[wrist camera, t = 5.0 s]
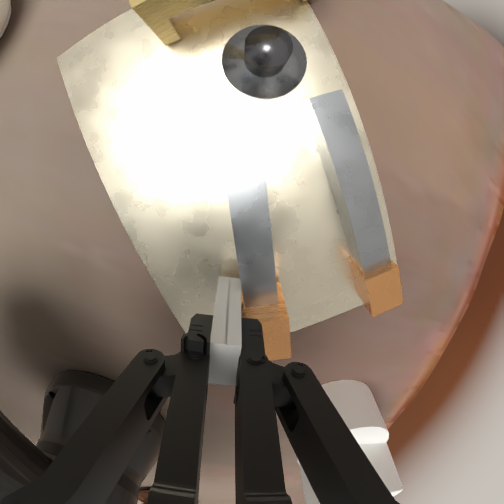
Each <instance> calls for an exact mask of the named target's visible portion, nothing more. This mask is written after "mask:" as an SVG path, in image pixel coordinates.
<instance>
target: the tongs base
mask: <svg viewBox="0 0 504 504" xmlns="http://www.w3.org/2000/svg"><path fill="white" fill-rule="evenodd" d="M171 19H172V21H173V23H174V25H175V27H176V30H177V32H178V34H179V36H180V38H181V39H179V40H177V41H175V42H173V43H171V44H169V45H166V46H165V44H164V43H163V42H162V41H161V40H160V39H159V38H158V36H157V35H156V34H155V33H154V32H153V31H152V30H151V29H150V27H149V26H148V25H147V24H146V23H145V22H144V21H143V20H142V19H141V18H140V16H139V15H138V14H137V13H136V12H135V11H134V10H133V9H130V10H129V11H127V12H125V13H123V14H121V15H120V16H118V17H116V18H114V19H113V20H111V21H109V22H108V23H106V24H104V25H103V26H101V27H100V28H98V29H97V30H95V31H93V32H92V33H90V34H89V35H87V36H86V37H85V38H83V39H82V40H80V41H79V42H77V43H76V44H75V45H73V46H72V47H71V48H69V49H68V50H67V51H65V52H64V53H63V54H61V55H60V56H59V57H57V60H58V64H59V67H60V71H61V74H62V77H63V81H64V84H65V87H66V90H67V93H68V96H69V99H70V102H71V105H72V108H73V110H74V113H75V116H76V119H77V121H78V124H79V127H80V129H81V132H82V134H83V137H84V140H85V142H86V145H87V147H88V149H89V152H90V154H91V157H92V159H93V161H94V164H95V166H96V168H97V171H98V173H99V175H100V177H101V180H102V182H103V184H104V186H105V189H106V191H107V193H108V195H109V197H110V199H111V201H112V203H113V205H114V208H115V210H116V212H117V214H118V216H119V218H120V220H121V222H122V224H123V226H124V228H125V230H126V232H127V233H128V235H129V237H130V239H131V241H132V243H133V245H134V247H135V249H136V251H137V252H138V254H139V256H140V258H141V260H142V262H143V263H144V265H145V267H146V269H147V270H148V272H149V274H150V276H151V277H152V279H153V281H154V283H155V284H156V286H157V288H158V289H159V291H160V293H161V295H162V296H163V298H164V300H165V301H166V303H167V304H168V306H169V308H170V309H171V311H172V313H173V314H174V316H175V317H176V319H177V321H178V322H179V324H180V325H181V327H182V328H183V330H184V331H185V333H188V330H189V325H190V321H191V318H192V317H193V316H194V315H195V314H196V313H198V314H206V315H214V307H215V300H216V293H217V286H218V279H219V276H222V277H231V278H240V274H239V268H238V261H237V255H236V248H235V242H234V235H233V229H232V222H231V215H230V208H229V202H228V195H227V188H226V181H225V174H224V167H223V160H222V153H221V145H220V138H219V131H218V123H217V116H216V113H217V112H224V111H231V110H239V109H247V108H256V107H257V112H258V120H259V128H260V136H261V144H262V153H263V161H264V169H265V178H266V187H267V196H268V205H269V214H270V223H271V232H272V242H273V252H274V262H275V272H276V282H278V281H280V285H281V289H282V293H283V296H284V300H285V304H286V308H287V312H288V316H289V326H290V333H291V332H294V331H297V330H299V329H302V328H305V327H307V326H310V325H313V324H315V323H318V322H321V321H323V320H326V319H329V318H331V317H334V316H336V315H339V314H341V313H344V312H346V311H349V310H351V309H353V308H356V307H358V306H361V305H363V304H364V305H365V306H366V308H367V309H368V311H369V312H370V314H371V315H372V317H375V316H377V315H379V314H381V313H384V312H386V311H388V310H390V309H392V308H394V307H397V306H399V305H401V304H403V296H402V288H401V280H400V273H399V267H398V266H397V260H396V254H395V249H394V243H393V238H392V233H391V228H390V223H389V218H388V213H387V209H386V205H385V200H384V196H383V192H382V188H381V184H380V180H379V177H378V173H377V169H376V166H375V162H374V159H373V155H372V152H371V149H370V146H369V142H368V139H367V136H366V133H365V130H364V127H363V124H362V121H361V118H360V116H359V113H358V110H357V107H356V105H355V102H354V99H353V97H352V94H351V92H350V89H349V87H348V84H347V82H346V79H345V77H344V74H343V72H342V70H341V67H340V65H339V63H338V61H337V58H336V56H335V54H334V52H333V50H332V47H331V45H330V43H329V41H328V39H327V37H326V35H325V33H324V31H323V29H322V27H321V25H320V23H319V21H318V20H317V18H316V16H315V14H314V12H313V10H312V8H311V7H310V5H309V3H308V1H307V0H306V1H302V0H215V1H212V2H209V3H206V4H204V5H201V6H198V7H196V8H193V9H191V10H188V11H186V12H183V13H181V14H179V15H176V16H174V17H172V18H171Z"/></svg>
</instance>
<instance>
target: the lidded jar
mask: <svg viewBox="0 0 504 504" xmlns="http://www.w3.org/2000/svg"><path fill="white" fill-rule="evenodd" d="M10 4H11V0H0V38H1V37H2V35H3V33H4V32H5V30H6V27H7V25H8V23H9V20H10V16H11V5H10Z"/></svg>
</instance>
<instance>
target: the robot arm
mask: <svg viewBox="0 0 504 504" xmlns="http://www.w3.org/2000/svg"><path fill="white" fill-rule="evenodd" d="M208 384H218V385H229V386H236V391H235V397H234V403H235V483H236V504H292V501H291V498H290V496H289V495H288V494H287V493H286V490H285V482H284V475H283V467H282V459H281V451H280V443H279V435H278V427H277V420H276V413H277V415H278V417H279V419H280V422H281V424H282V426H283V428H284V430H285V432H286V435H287V437H288V439H289V441H290V443H291V445H292V447H293V449H294V452H295V454H296V456H297V458H298V460H299V462H300V464H301V466H302V468H303V470H304V472H305V474H306V476H307V478H308V481H309V483H310V485H311V487H312V489H313V491H314V493H315V495H316V497H317V499H318V500H319V502H320V504H399V503H398V502H397V501H395V499H394V498H393V496H392V495H391V493H390V492H389V490H388V488H387V487H386V485H385V484H384V482H383V481H382V479H381V478H380V476H379V475H378V473H377V472H376V470H375V469H374V467H373V466H372V464H371V462H370V461H369V459H368V458H367V456H366V455H365V453H364V452H363V450H362V449H361V447H360V445H359V444H358V442H357V441H356V439H355V438H354V436H353V435H352V433H351V431H350V430H349V428H348V427H347V425H346V424H345V422H344V420H343V419H342V417H341V416H340V414H339V413H338V411H337V409H336V408H335V406H334V405H333V403H332V402H331V400H330V398H329V397H328V395H327V394H326V392H325V391H324V389H323V387H322V386H321V384H320V383H319V381H318V379H317V378H316V376H315V375H314V373H313V372H312V370H311V369H310V368H309V367H308V366H307V365H305V364H303V363H299V362H292V363H289V364H288V365H286V366H285V367H283V366H279V365H276V364H274V363H272V362H270V361H269V360H268V357H267V356H266V354H265V347H264V338H263V330H262V324H261V323H260V322H259V320H258V319H252V318H241V281H240V278H231V277H222V276H219V279H218V286H217V293H216V300H215V307H214V315H206V314H198V313H196V314H195V315H194V316H193V317H192V318H191V321H190V325H189V330H188V333H186V334H184V335H183V336H182V338H181V352H180V353H178V354H176V355H171V356H164V355H163V354H162V353H161V352H160V351H158V350H154V349H145V350H143V351H141V352H139V353H138V354H137V355H136V357H135V358H134V359H133V360H132V361H131V363H130V364H129V365H128V366H127V368H126V369H125V370H124V371H123V373H122V374H121V375H120V376H119V377H118V379H117V380H116V381H115V382H113V381H111V380H108V379H106V378H103V377H101V376H98V375H94V374H91V373H87V372H81V371H64V372H61V373H59V374H57V375H56V376H55V377H54V378H53V380H52V382H51V384H50V385H49V387H48V389H47V391H46V394H45V399H44V406H43V415H42V424H41V435H40V439H39V441H38V443H37V446H35V445H34V444H33V443H32V442H31V441H30V440H29V439H27V438H26V437H25V436H24V435H23V434H22V433H21V432H20V431H19V430H18V429H17V428H16V427H15V426H14V425H13V424H12V423H11V422H10V420H9V419H8V418H7V417H6V416H5V415H4V414H3V413H2V412H1V411H0V504H137V501H138V495H139V490H140V486H141V483H142V482H143V480H144V479H145V477H146V476H147V474H148V473H149V471H150V470H151V468H152V467H153V465H154V464H155V462H156V461H157V459H158V462H157V468H156V473H155V479H154V483H153V485H152V486H151V487H150V490H149V494H148V499H147V504H198V493H199V480H200V467H201V454H202V443H203V432H204V421H205V410H206V400H207V389H208ZM170 396H171V398H170V403H169V407H168V412H167V417H166V422H164V420H163V418H162V417H161V415H160V414H159V411H160V410H161V408H162V406H163V404H164V403H165V401H166V399H167V397H170ZM275 410H276V412H275Z"/></svg>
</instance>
